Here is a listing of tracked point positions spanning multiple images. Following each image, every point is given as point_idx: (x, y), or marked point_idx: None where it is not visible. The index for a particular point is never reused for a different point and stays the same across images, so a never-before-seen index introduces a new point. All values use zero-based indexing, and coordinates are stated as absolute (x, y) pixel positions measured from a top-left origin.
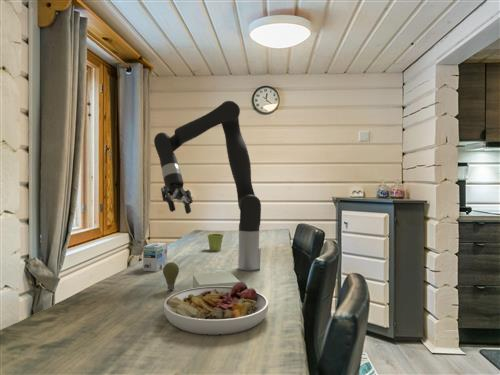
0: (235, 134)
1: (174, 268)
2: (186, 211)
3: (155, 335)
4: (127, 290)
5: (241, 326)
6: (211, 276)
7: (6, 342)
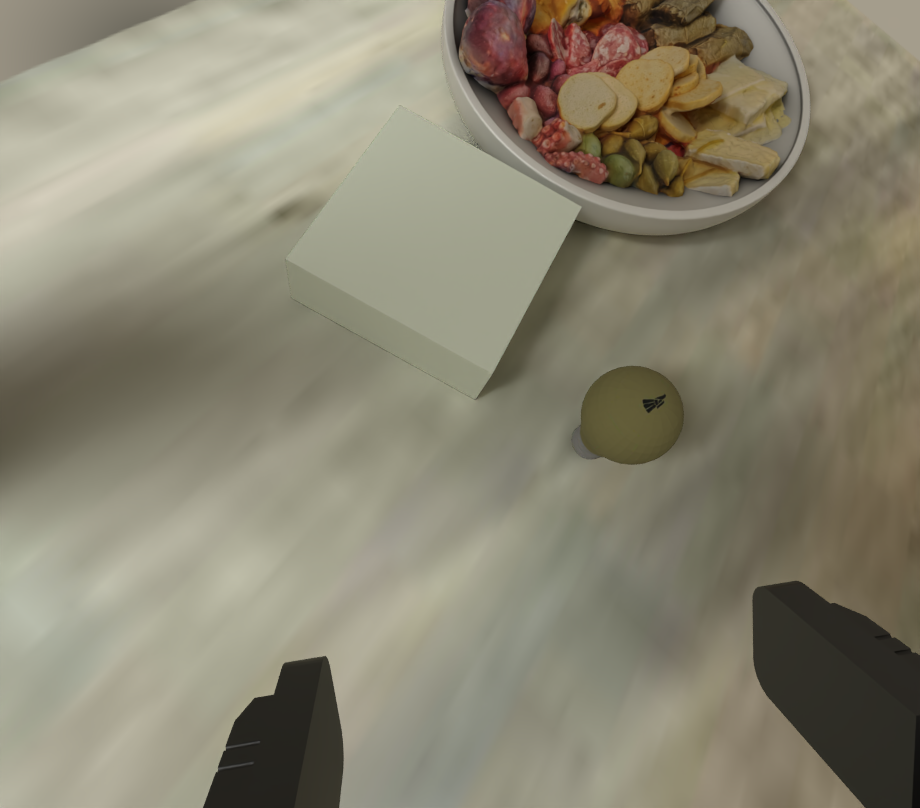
0: None
1: (640, 366)
2: (334, 772)
3: (818, 134)
4: None
5: None
6: (441, 265)
7: None
